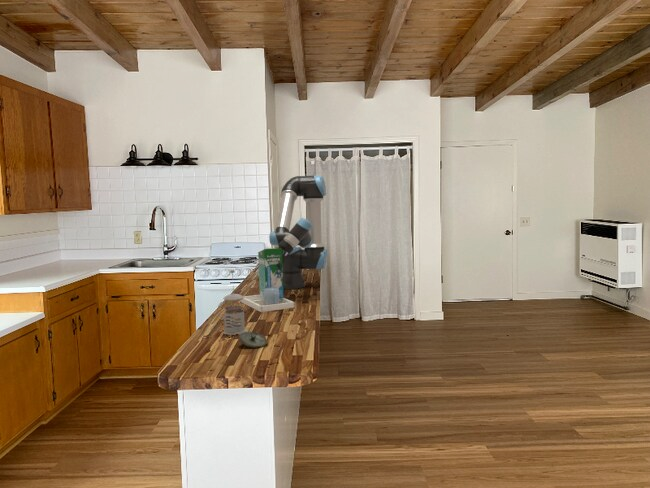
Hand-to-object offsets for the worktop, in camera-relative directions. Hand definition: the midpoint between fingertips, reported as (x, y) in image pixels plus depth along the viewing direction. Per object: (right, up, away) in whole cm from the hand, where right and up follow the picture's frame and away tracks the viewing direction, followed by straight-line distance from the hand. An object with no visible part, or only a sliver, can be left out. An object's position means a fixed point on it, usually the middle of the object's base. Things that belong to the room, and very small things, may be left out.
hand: (261, 276), depth 262 cm
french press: (-5, -19, -52) cm, 55 cm away
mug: (+7, -14, -13) cm, 20 cm away
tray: (+3, -15, -6) cm, 16 cm away
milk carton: (+5, -11, -2) cm, 12 cm away
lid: (+6, -21, -71) cm, 74 cm away
